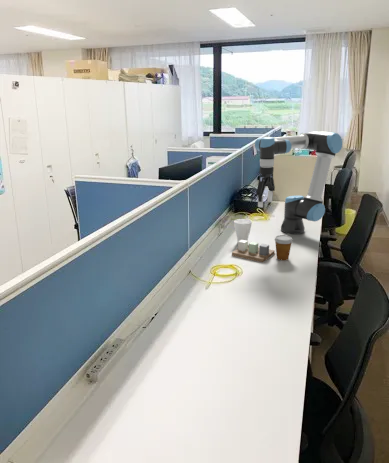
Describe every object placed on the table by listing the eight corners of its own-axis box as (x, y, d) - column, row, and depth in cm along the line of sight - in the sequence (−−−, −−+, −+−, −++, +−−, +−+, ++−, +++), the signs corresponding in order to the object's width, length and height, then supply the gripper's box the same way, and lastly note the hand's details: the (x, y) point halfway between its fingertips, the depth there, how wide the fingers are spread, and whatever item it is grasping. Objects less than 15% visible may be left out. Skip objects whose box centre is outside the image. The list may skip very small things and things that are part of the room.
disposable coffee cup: (290, 255, 228) (291, 234, 224) (292, 261, 219) (293, 240, 215) (272, 255, 229) (273, 234, 225) (274, 261, 220) (275, 240, 216)
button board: (244, 247, 241) (244, 244, 240) (274, 253, 231) (274, 250, 230) (231, 255, 229) (231, 252, 228) (263, 262, 219) (263, 259, 218)
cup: (250, 239, 253) (251, 218, 249) (251, 245, 243) (252, 224, 239) (233, 239, 254) (234, 218, 250) (233, 245, 244) (234, 223, 240)
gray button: (262, 252, 228) (262, 243, 227) (268, 253, 226) (269, 245, 225) (259, 254, 225) (259, 245, 224) (265, 255, 223) (266, 247, 221)
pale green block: (251, 249, 232) (252, 241, 230) (258, 251, 230) (258, 242, 228) (248, 252, 229) (248, 243, 227) (255, 253, 227) (255, 245, 225)
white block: (241, 247, 235) (241, 239, 234) (247, 249, 233) (248, 240, 232) (238, 249, 232) (238, 241, 231) (244, 251, 230) (244, 242, 228)
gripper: (269, 162, 236) (267, 199, 243) (250, 169, 216) (249, 208, 223) (281, 163, 232) (279, 200, 239) (263, 170, 212) (262, 210, 219)
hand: (265, 204), depth 231 cm, fingers open, 12 cm apart
